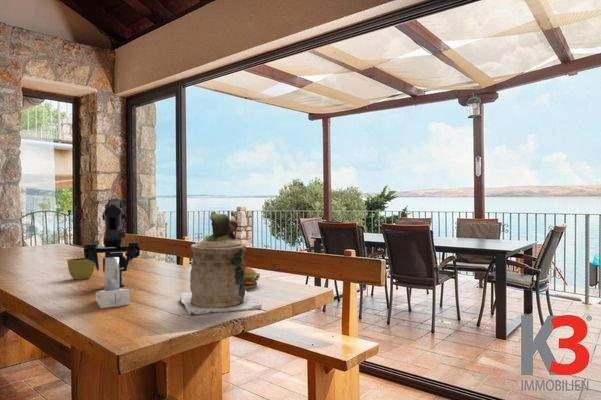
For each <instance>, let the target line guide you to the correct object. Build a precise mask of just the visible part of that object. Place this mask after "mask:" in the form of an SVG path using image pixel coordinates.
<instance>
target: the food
mask: <svg viewBox="0 0 601 400" xmlns="http://www.w3.org/2000/svg"><path fill="white" fill-rule="evenodd" d="M260 275H261V274H260V273H259V272H256V270H255V269H253V268H252V267H248V266H246V270H245V275H244V278H243V285H244V288H245V290H249V289H253V288H256V287H257V285H258V281H259V279H260Z"/></svg>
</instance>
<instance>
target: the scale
mask: <svg viewBox="0 0 601 400" xmlns="http://www.w3.org/2000/svg"><path fill="white" fill-rule="evenodd" d="M95 298H96V299H95V301H96V303H97V305H98V306H99V308H100V309H105V308H106V309H107V308H113V307H122V306H128V305H130V303H131V302H130V288H119V290H114V291H105V289H103V290H99V291H96V292H95Z"/></svg>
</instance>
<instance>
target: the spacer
mask: <svg viewBox="0 0 601 400" xmlns="http://www.w3.org/2000/svg"><path fill="white" fill-rule="evenodd" d="M103 258H104V273H103V275H104V290H105V291H114V290H119V289H120V287H119V257H106V258H105V257H103Z"/></svg>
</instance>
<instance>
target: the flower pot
mask: <svg viewBox="0 0 601 400" xmlns="http://www.w3.org/2000/svg"><path fill="white" fill-rule="evenodd" d="M66 261H67V268H68V273H69V275H70V276H71V278H72V279H74V280H79V281H81V280H85V279H87V280H88V279H90V278H91V277H92V275H93V273H94V271H95V268H96V266H95V264H94V263H93V262H92V260H89V259H85V256H84V257H77V258H70V259H69V258H68V259H66Z"/></svg>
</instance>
